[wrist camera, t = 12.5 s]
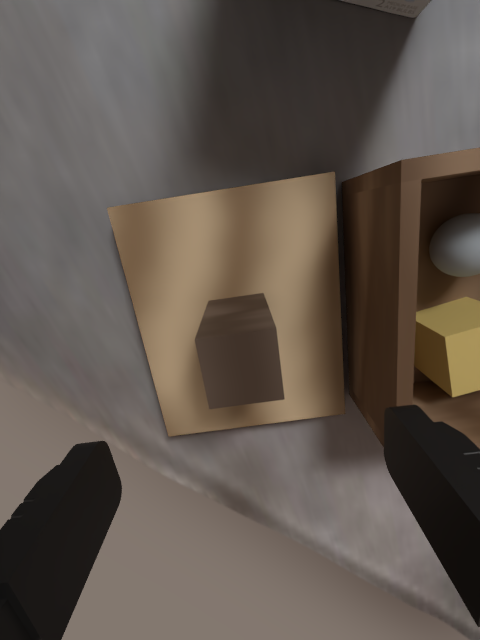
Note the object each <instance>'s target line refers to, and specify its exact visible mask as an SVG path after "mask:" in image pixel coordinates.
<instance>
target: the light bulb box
mask: <svg viewBox="0 0 480 640" xmlns="http://www.w3.org/2000/svg"><path fill="white" fill-rule="evenodd" d="M340 1H344V2H348V3H352V4H357V5H361V6H365V7H369V8H373V9H377V10H381V11H385V12H389V13H393V14H397V15H402V16H406V17H410V18H415V17H417V16H418V15H419V14H420V12H421V11H422V10H423V9H424V8H425V7H426V6H427V5H428V4H429V3H430V1H431V0H340Z"/></svg>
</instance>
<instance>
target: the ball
mask: <svg viewBox="0 0 480 640" xmlns="http://www.w3.org/2000/svg"><path fill="white" fill-rule="evenodd" d="M429 254H430V257H431V260H432V262H433V264H434V265H435V266H436V267H437V268H438V269H439V270H440V271H442V272H444V273H446V274H448V275H451V276H457V277H469V276H474V275H477V274H480V213H468V214H462V215H459V216H456V217H453V218H451V219H449V220H448V221H446V222H445V223H443V224H442V225H441V226H440V227H439V228H438V229H437V230H436V232H435V233H434V235H433V237H432V239H431V241H430V246H429Z"/></svg>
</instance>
